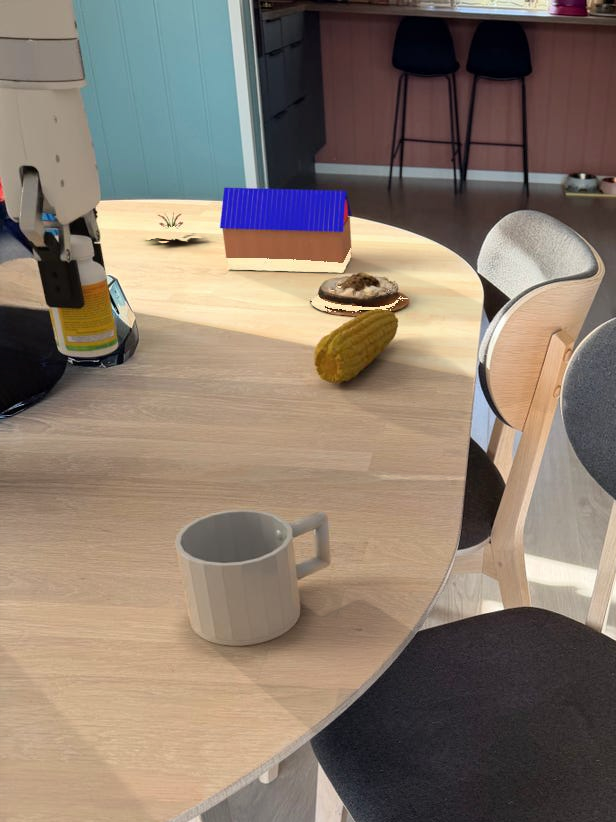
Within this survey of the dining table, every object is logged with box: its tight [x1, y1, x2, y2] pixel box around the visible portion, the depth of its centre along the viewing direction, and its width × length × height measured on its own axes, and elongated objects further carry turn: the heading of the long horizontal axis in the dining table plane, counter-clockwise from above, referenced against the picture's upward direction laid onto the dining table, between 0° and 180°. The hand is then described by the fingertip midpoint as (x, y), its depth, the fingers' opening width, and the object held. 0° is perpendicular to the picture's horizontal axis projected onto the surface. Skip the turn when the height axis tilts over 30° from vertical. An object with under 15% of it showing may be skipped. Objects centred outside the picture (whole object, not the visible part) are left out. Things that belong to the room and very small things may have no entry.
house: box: [219, 187, 353, 263], centre depth 156 cm, size 12×20×12 cm, turn 89°
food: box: [313, 309, 399, 384], centre depth 118 cm, size 21×6×6 cm, turn 166°
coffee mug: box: [174, 508, 332, 647], centre depth 72 cm, size 12×8×7 cm
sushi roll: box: [309, 271, 410, 317], centre depth 141 cm, size 15×15×4 cm
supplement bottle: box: [47, 234, 119, 358], centre depth 84 cm, size 5×5×10 cm
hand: (78, 295), depth 84 cm, fingers closed on supplement bottle, 5 cm apart
